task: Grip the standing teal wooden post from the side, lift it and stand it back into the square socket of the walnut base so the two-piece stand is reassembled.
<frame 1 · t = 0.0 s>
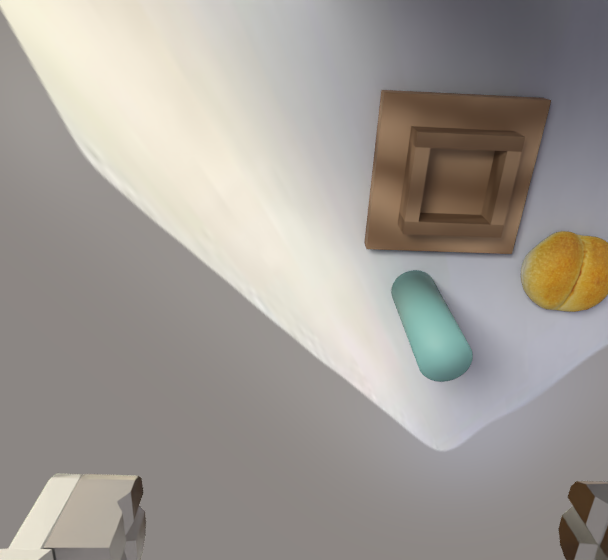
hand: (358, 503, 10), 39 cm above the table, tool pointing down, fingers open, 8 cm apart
teal post: (412, 289, 52), on the table
walnut base: (448, 174, 47), on the table
bread roll: (562, 266, 52), on the table
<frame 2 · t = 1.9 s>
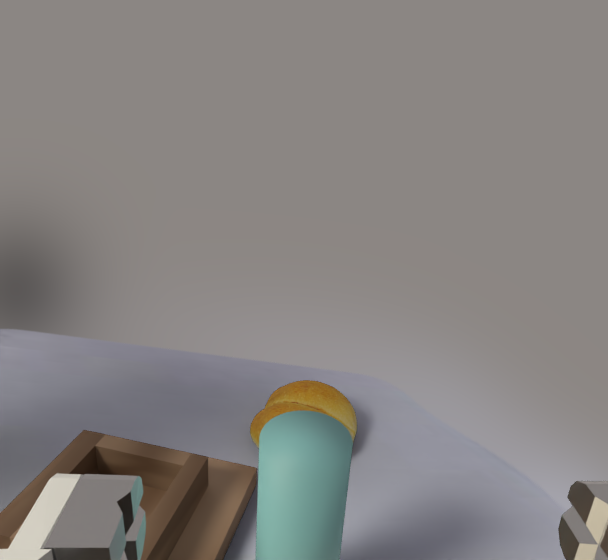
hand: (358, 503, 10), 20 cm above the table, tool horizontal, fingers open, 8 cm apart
walnut base: (115, 539, 32), on the table
bread roll: (303, 437, 43), on the table
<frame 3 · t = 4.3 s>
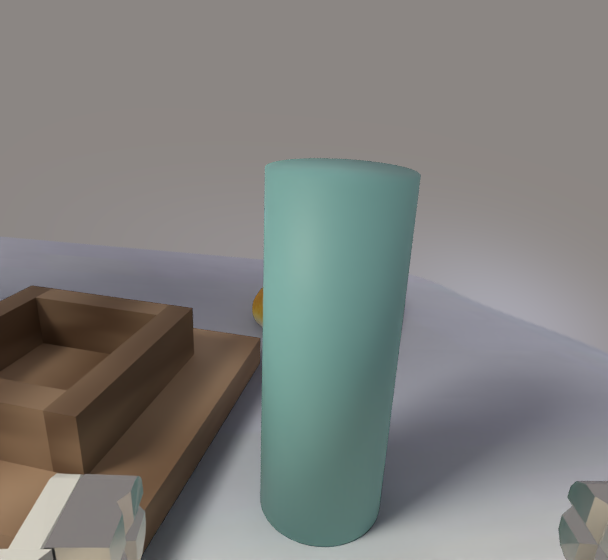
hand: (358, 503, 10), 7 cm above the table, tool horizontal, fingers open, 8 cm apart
teal post: (319, 496, 19), on the table
walnut base: (61, 416, 23), on the table
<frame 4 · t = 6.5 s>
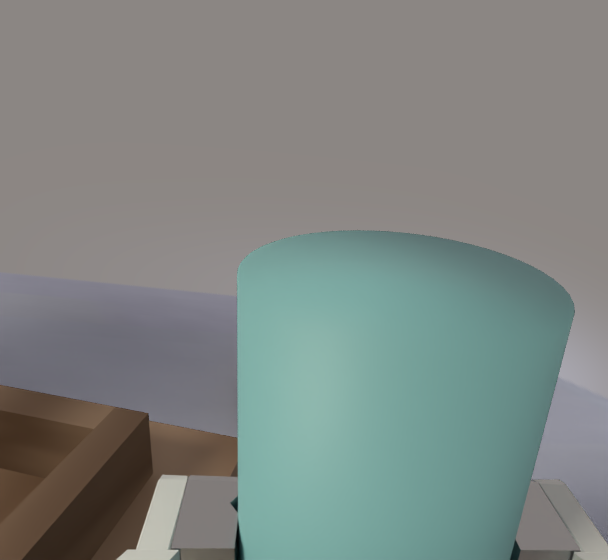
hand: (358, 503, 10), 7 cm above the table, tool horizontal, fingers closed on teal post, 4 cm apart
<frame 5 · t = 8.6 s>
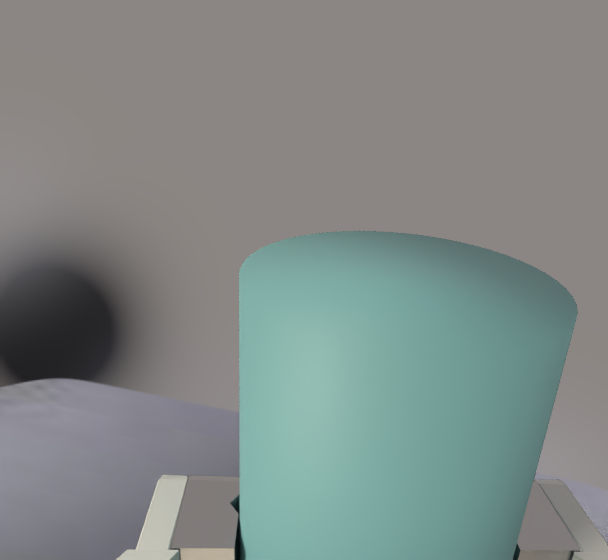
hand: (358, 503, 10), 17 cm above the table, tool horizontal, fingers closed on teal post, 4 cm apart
when the fingers open (10 cm above the table, at t = 10.9 s): teal post drops 1 cm, resting on walnut base.
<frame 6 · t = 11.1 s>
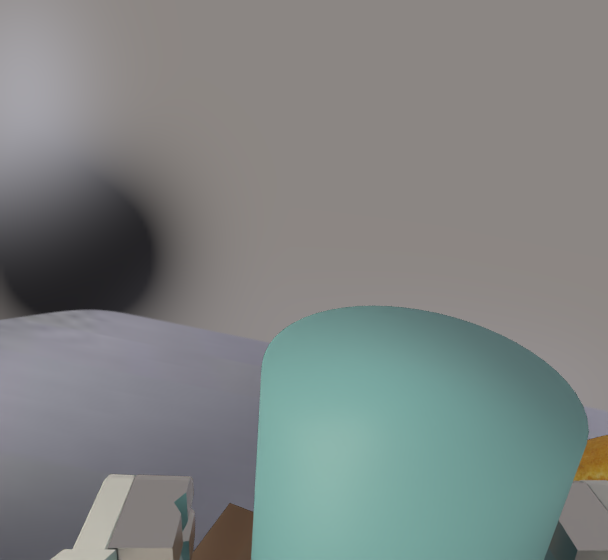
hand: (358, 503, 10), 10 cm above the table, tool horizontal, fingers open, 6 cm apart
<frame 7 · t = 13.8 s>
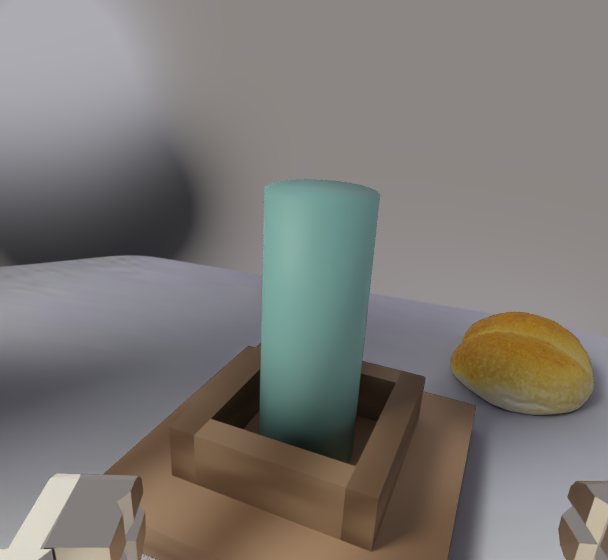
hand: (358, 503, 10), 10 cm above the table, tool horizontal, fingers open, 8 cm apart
teal post: (305, 444, 24), point 2 cm above the table, touching walnut base
walnut base: (305, 469, 25), on the table
bread roll: (515, 381, 34), on the table
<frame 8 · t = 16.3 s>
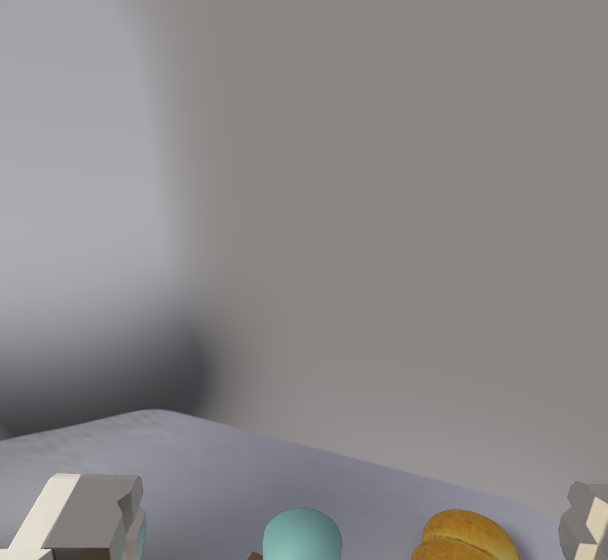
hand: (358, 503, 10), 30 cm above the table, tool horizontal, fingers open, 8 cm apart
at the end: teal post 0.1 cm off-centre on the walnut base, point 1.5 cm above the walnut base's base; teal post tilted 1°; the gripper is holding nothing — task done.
